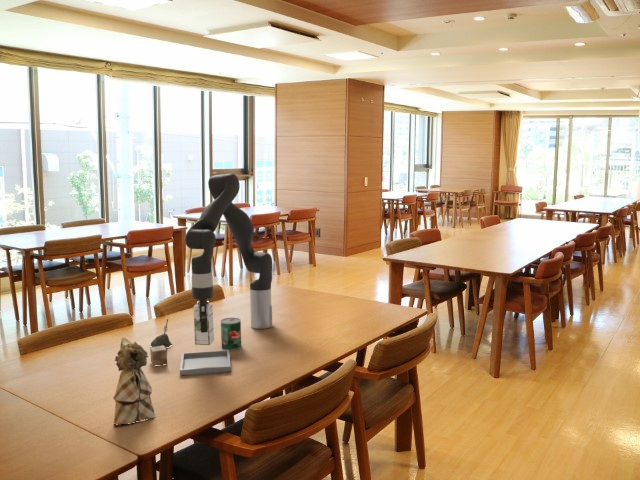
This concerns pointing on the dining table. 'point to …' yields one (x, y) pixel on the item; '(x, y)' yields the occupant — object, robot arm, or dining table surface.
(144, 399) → the plush toy
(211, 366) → the slate tray
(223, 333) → the canned tomato
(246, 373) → the dining table surface
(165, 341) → the sword in stone
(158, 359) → the walnut block
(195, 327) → the syrup box
